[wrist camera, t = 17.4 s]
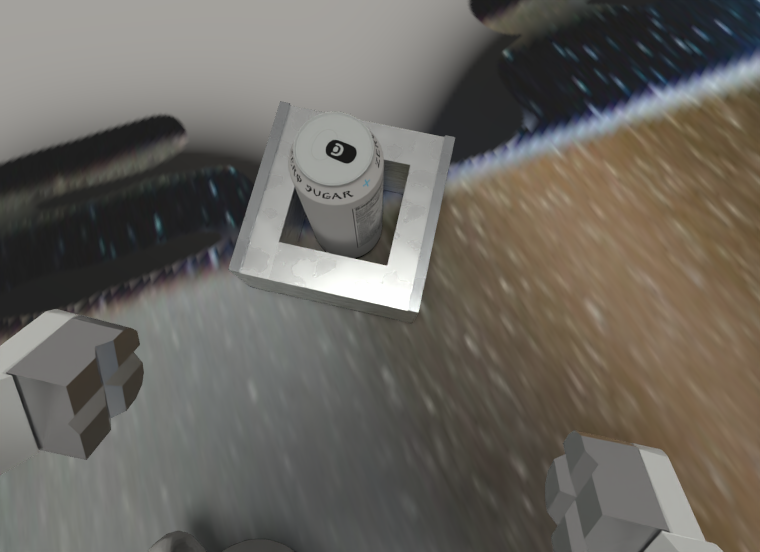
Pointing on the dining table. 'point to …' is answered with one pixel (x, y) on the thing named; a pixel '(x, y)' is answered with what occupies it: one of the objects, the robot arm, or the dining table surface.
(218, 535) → the dining table surface
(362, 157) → the energy drink can
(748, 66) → the dining table surface
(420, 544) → the dining table surface
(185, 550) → the coffee mug
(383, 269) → the frame
